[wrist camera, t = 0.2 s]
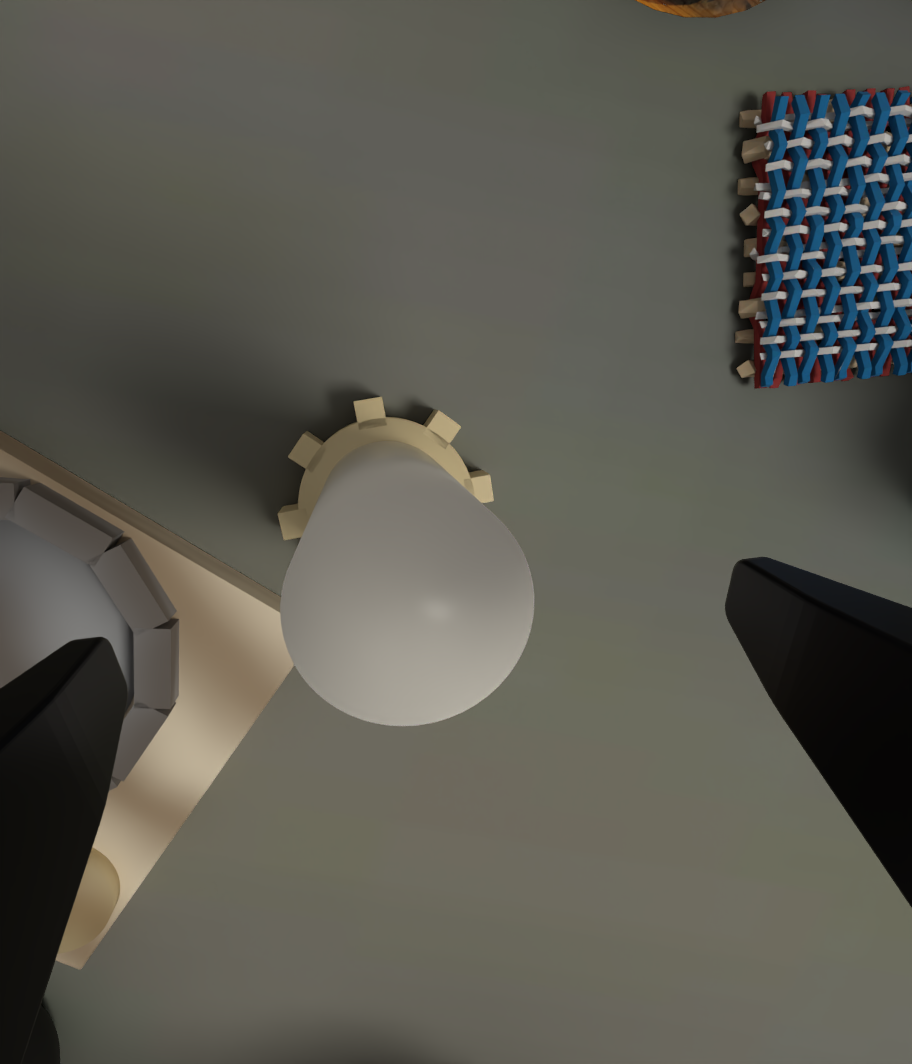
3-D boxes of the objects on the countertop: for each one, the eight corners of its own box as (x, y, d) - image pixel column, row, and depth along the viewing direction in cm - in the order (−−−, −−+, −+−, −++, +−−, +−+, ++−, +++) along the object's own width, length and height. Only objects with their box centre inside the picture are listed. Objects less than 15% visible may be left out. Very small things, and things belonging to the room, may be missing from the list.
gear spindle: (411, 630, 25) (456, 852, 13) (242, 526, 23) (108, 672, 11) (523, 474, 24) (684, 555, 12) (358, 354, 22) (353, 305, 10)
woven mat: (974, 94, 24) (1029, 67, 22) (946, 370, 26) (993, 368, 24) (729, 102, 23) (764, 74, 21) (724, 392, 25) (755, 391, 23)
